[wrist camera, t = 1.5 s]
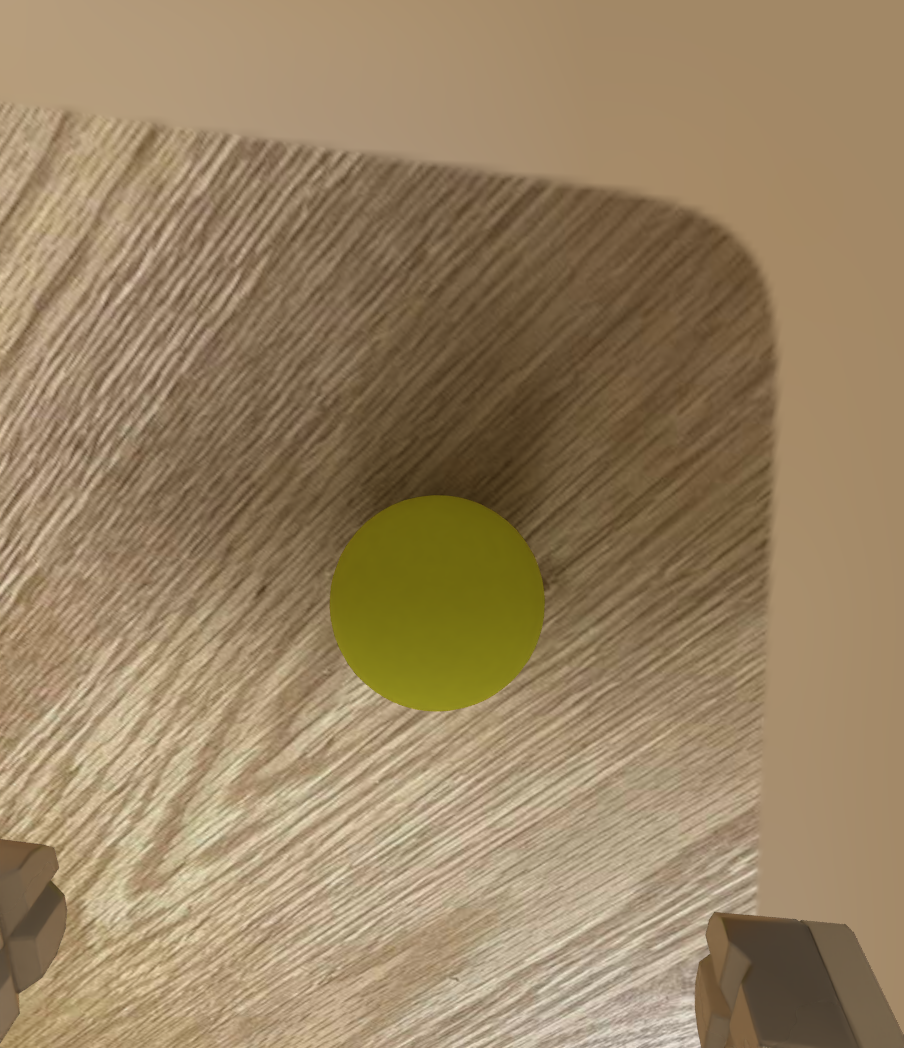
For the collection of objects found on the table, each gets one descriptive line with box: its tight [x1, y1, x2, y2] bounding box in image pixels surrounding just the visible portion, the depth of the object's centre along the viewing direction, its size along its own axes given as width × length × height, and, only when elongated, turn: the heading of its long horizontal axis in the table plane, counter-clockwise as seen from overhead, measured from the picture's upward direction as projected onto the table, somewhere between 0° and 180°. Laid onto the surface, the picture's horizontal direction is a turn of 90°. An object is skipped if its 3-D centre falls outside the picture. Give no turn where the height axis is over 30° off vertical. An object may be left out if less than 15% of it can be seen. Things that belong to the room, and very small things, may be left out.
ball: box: [330, 495, 545, 711], centre depth 16 cm, size 5×5×5 cm
